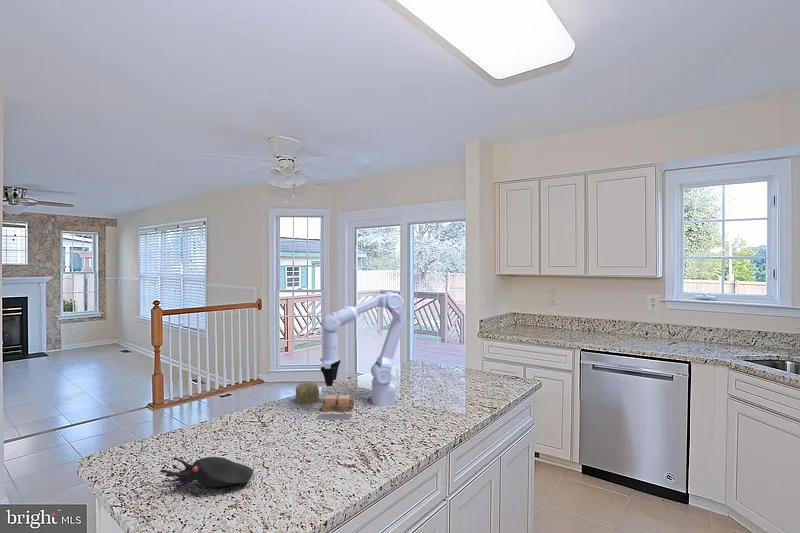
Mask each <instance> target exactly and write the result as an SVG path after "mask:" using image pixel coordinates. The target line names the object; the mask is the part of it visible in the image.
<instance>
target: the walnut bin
mask: <svg viewBox="0 0 800 533" xmlns="http://www.w3.org/2000/svg"><path fill="white" fill-rule="evenodd" d="M354 405H355V399H354V398H350V405H338V398H337V405H325V400H324V401H323V402H322V404H321V412H323V413H326V412H329V413H331V412H339V413H340V412H344V413H345V412H352V411H353V408H354Z"/></svg>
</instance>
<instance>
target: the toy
mask: <svg viewBox="0 0 800 533" xmlns="http://www.w3.org/2000/svg"><path fill="white" fill-rule="evenodd" d="M172 459H173V460H175V461H178V462H180V463H181V464H183V465H184V469H181V468H179V467H177V466H176V465H175V464H173V465H172V468H173V470H179V471H169V470H167V469H162V470H159V472H160V473H164V474H165V477H167V478H173V479H171V480H169V479H168V480H162V481H160V482H161V483H166V482H168V483H169V482H172V483H176V484H179V483H181V484H179V485H175V486H176V488H181V487H183V486H186V485H188V484H190V483H193V482H195V481H197V482H198V483H199V484H200V485H201V486H203V487H205V486H206V488H210V487H213V488H220V487H227V486H228V487H229V486H231V485H235V484H244V483H247V482H248V481H250V479H251V478H252V476H253V474H254V470H253V468H251V467H250V466H247V465H244V464H243V463H238V462H234V461H232V460H230V459H227V458H225V457H219V456H209V457H204V458H203V457H202V458H199V459H197V460H196V461H194V462H193V464H191V463H188V462H187V461H184V460H181V459H179V458H178V457H176V456H175V457H172Z"/></svg>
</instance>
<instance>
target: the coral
mask: <svg viewBox="0 0 800 533" xmlns="http://www.w3.org/2000/svg"><path fill="white" fill-rule="evenodd" d="M319 397H320V389H319V387H318V384H317V383H316V382H314V381H311V380H310V381H305V382H301V383H300V384H298V385H296V387H295V401H296V402H297V403H300V404H310V403H311V404H312V403H315V402H317V401H318V400H319V399H320V398H319Z"/></svg>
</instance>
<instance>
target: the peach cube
mask: <svg viewBox="0 0 800 533" xmlns="http://www.w3.org/2000/svg"><path fill="white" fill-rule="evenodd" d="M337 399H338V405H350V399H351V395H350V394H339V396H338V397H337Z"/></svg>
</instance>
